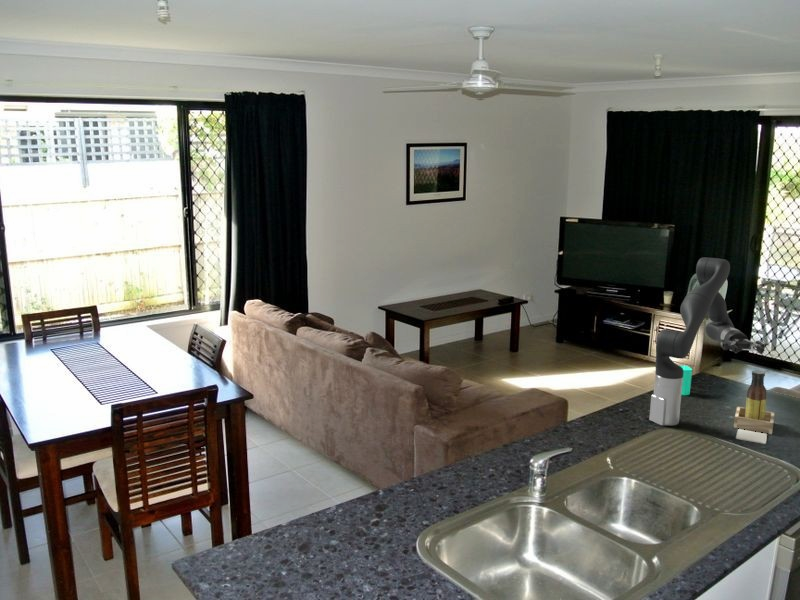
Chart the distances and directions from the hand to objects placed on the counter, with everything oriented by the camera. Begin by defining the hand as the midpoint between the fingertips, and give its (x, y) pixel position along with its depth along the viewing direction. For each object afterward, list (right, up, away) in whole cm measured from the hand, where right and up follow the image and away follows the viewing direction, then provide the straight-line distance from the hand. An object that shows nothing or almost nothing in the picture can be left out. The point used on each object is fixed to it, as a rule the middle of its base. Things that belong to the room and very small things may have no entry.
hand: (749, 350), depth 257 cm
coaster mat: (-7, -28, -16) cm, 33 cm away
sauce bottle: (-1, -26, -6) cm, 27 cm away
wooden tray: (-1, -26, -6) cm, 27 cm away
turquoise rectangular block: (-13, -19, +28) cm, 36 cm away
